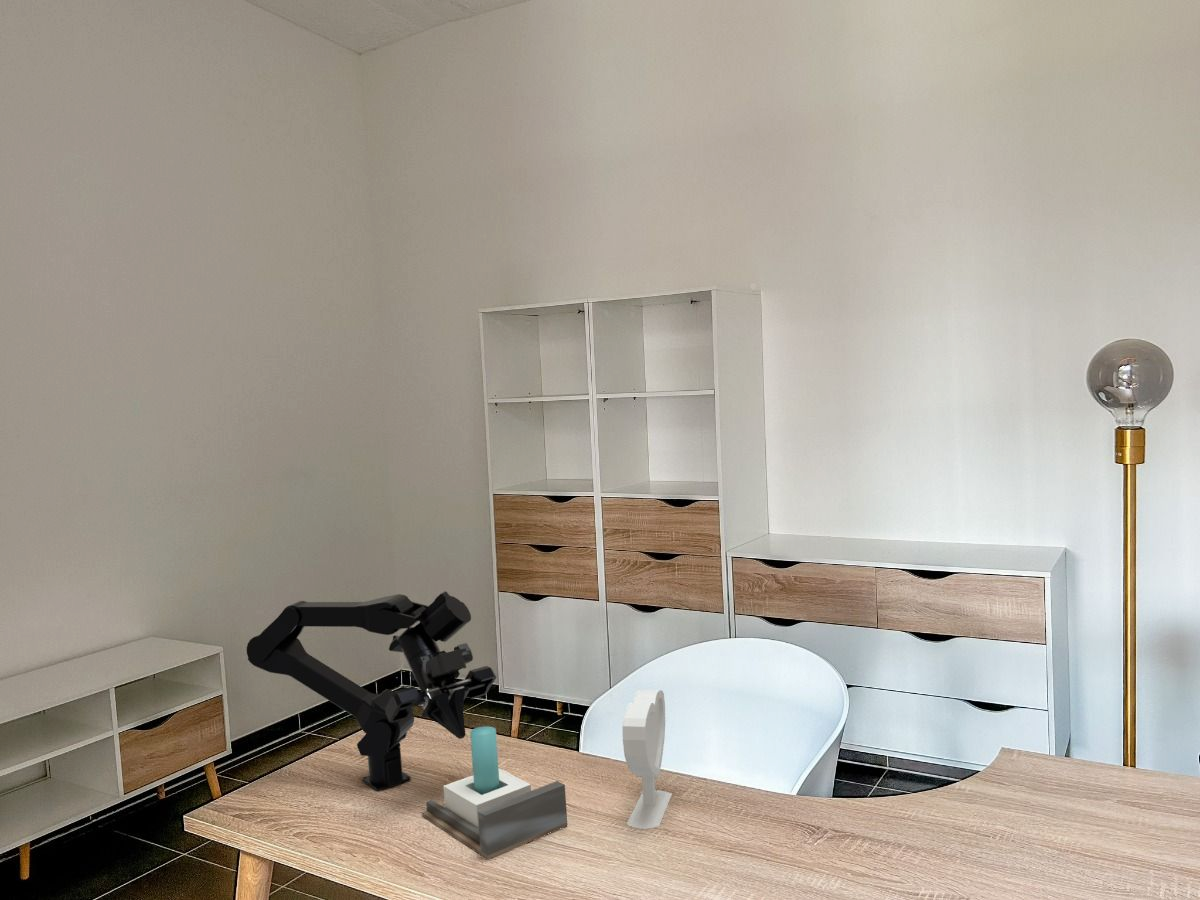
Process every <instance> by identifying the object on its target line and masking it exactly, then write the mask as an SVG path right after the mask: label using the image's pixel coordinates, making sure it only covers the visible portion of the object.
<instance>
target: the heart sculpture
mask: <svg viewBox="0 0 1200 900" xmlns="http://www.w3.org/2000/svg"><path fill="white" fill-rule="evenodd" d="M665 702H666V701H665V693H664V691H663V690H661V689H658V690H657V689H638V690H636V692H635V694H634V698H633V702H631V701H630V702H629V703H628V705H627V707H626V709H625V713H624V716H623V720H622V727H621V728H622V745H623V753H624V758H625V761H626V763H625V764H626V766H627V768H628V770H629V771H630V772H631V773H632V774H633V775H635V776H636V777H637V778H641V784H642V792H641V794H640V796H639V798H638V801H637V803H636V804H635V806H634V808H633V811H632V813H631V814H630V817H629V818H628V821H627V823H626V825H627V824H628V825H627V826H630V827H631V826H632V828H634V829H639V828H640V830H644V829H645V830H647V829H653V828H659V827H660V824H661V822H662V820H663V817H664V814H665V812H666V810H667V807H668V804H669V803H670V800H671V798H672V795H673V793H672V792H668V791H665V790H660V789H657V790H656V779H659V778H660V775H661V767H662V760H663V756H664V745H665V737H666V736H665V735H666V734H665V733H666V703H665Z"/></svg>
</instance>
